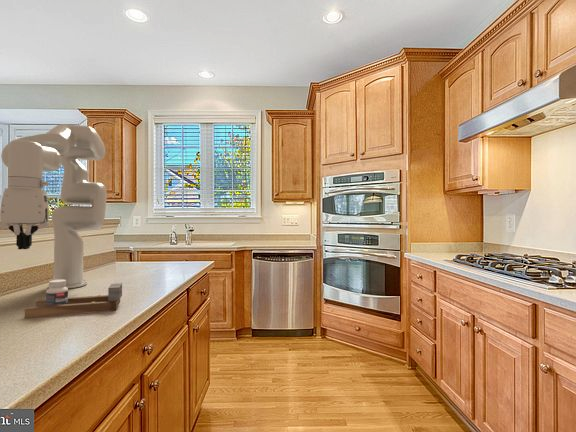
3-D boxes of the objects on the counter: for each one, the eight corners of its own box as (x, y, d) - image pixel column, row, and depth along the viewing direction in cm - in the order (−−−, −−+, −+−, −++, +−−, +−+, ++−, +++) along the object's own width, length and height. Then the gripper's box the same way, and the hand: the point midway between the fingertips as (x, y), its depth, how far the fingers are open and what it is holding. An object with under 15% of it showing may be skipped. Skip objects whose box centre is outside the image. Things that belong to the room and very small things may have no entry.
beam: (38, 307, 94) (38, 286, 94) (122, 301, 102) (122, 281, 102) (24, 317, 85) (24, 294, 85) (118, 310, 93) (118, 288, 93)
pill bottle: (55, 314, 89) (56, 283, 89) (40, 312, 90) (41, 282, 90) (72, 308, 94) (72, 279, 94) (57, 307, 95) (58, 278, 95)
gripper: (60, 187, 95) (59, 247, 95) (-2, 184, 90) (-3, 248, 89) (52, 184, 88) (51, 249, 88) (-16, 181, 83) (-17, 250, 82)
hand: (24, 248), depth 89 cm, fingers closed
